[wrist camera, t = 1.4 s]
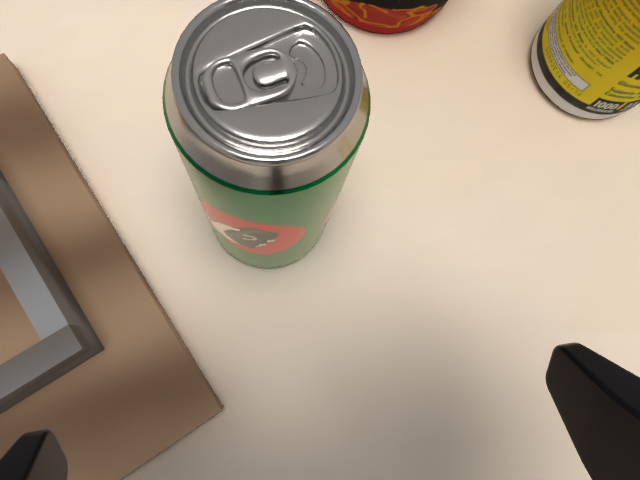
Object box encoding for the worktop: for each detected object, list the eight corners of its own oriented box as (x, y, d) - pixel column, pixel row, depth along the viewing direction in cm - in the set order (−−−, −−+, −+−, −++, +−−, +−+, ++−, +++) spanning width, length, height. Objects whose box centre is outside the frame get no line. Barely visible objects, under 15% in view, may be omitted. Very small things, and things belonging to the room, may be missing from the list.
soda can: (340, 247, 23) (414, 137, 11) (234, 286, 22) (195, 211, 10) (300, 148, 24) (331, -49, 12) (196, 182, 23) (122, 6, 11)
